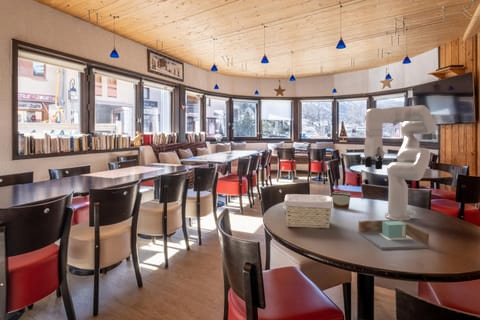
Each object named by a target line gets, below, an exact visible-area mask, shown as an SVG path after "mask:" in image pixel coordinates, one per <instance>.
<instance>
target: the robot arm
mask: <svg viewBox="0 0 480 320" xmlns="http://www.w3.org/2000/svg"><path fill="white" fill-rule="evenodd" d="M364 120H365V138H364V145H363V146H364V147H363V148H364V149H363V154H364V155H363V156H364V159H365V162H364V168H372V166H373V160H372V157H373V158H374V159H375V161H374V166H375V167H374V169H375V170H382V169H383V161H384V157H385V150H384V147H383V146H384V145H383V144H384V143H383V128H384V127H383V125H385V124H399V123H401V127H400V129H401V135H402V144H401V146H400V148H399V150H398V152H397V154H396V161H393V162H390V163H388V165H387V167H386V172H387V177H388V197H387V199H388V202H387V203H388V204H387V205H388V206H387V213H385V214H384V217H385V218H386V219H387V220H401V221H403V222H406V221H410V220H411V218H412V217H411V216H413V215H417V211H416V210H409V209H408V207H409V205H408V202H409V186H408V184H407V182H406V181H420V180H421V179H422V178H423V177H424V175H425V172H426V170H427V168H428V166H429V163H430V160H431V153H430V150H429V149H427V148H426V147H420V145H421V144H420V141H419V139H418V138H417V137H416V136H415V135H430V134H433V133H434V132H435V130H436V127H437V126H436V121H435V120H434V117H433V115H432V113H431V111H430V109H429V108H428V107H427V106H426V105H423V104H420V105H419V104H418V105H409V106H394V107H388V108H379V107H378V108H377V107H375V108H373V107H372V108H368V109H366V111H365V115H364Z"/></svg>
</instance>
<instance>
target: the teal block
mask: <svg viewBox="0 0 480 320" xmlns="http://www.w3.org/2000/svg"><path fill="white" fill-rule="evenodd" d="M382 235H384V236H385V237H387V238H406V224H404V223H402V222H400V221H388V222H382Z"/></svg>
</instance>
